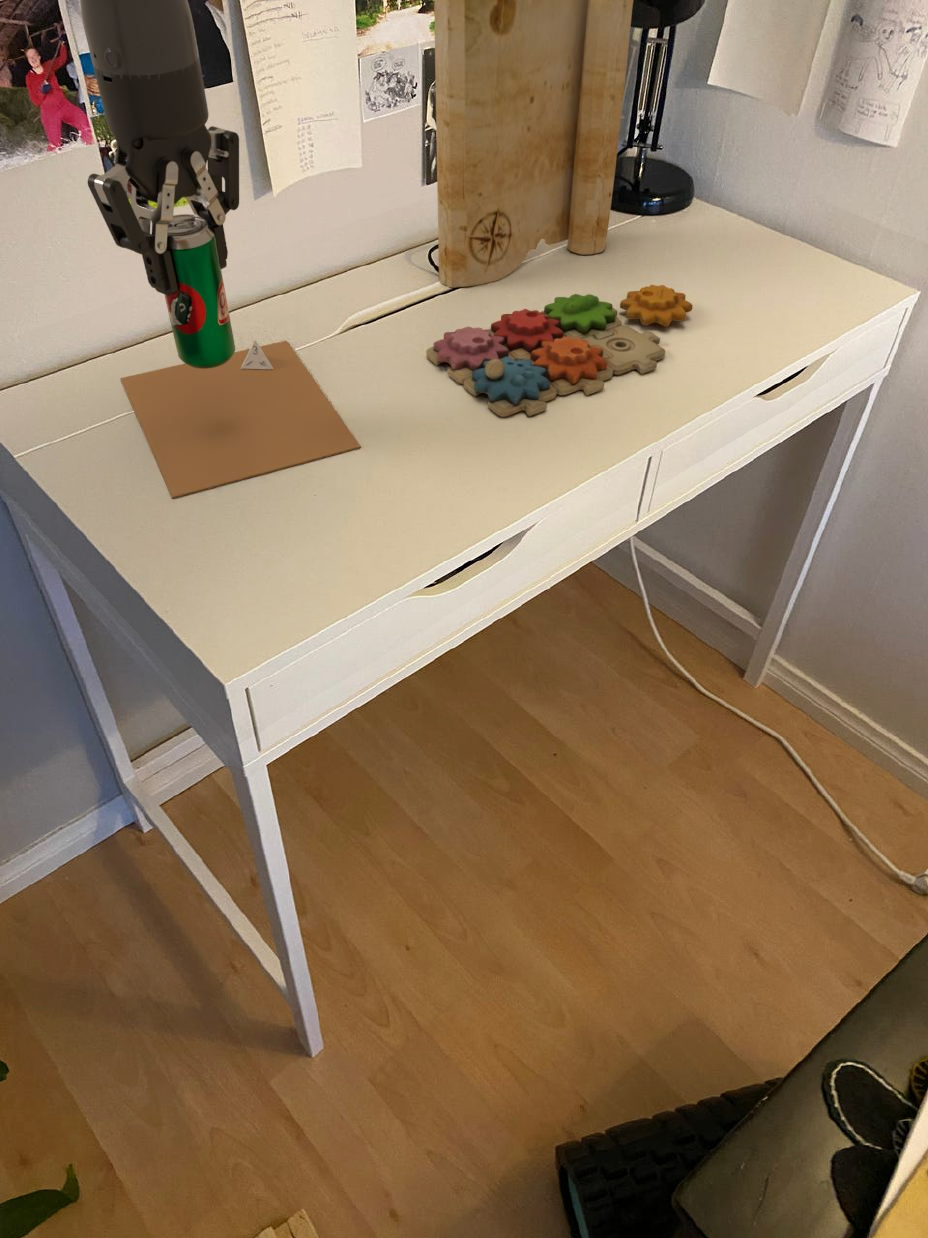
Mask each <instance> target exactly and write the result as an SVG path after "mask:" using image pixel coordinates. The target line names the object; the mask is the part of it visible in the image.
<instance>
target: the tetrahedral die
mask: <svg viewBox="0 0 928 1238" xmlns="http://www.w3.org/2000/svg"><path fill="white" fill-rule="evenodd" d="M260 346H261V345H259V343H258V341H257V340H256V339H254V340H253V341H252V344H251V346H250V348H249V349H250V350H249V352H248V354H247V356H246V358H245V360H244V363H243V365H242V367H241V369H260V370H273V367H272V365H271V364H270V362H269V361H268V359H267V357H266V356H265V354H264V353H263V351H262V349H261V348H260Z"/></svg>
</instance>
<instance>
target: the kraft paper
mask: <svg viewBox="0 0 928 1238" xmlns="http://www.w3.org/2000/svg"><path fill="white" fill-rule="evenodd" d="M259 346H260V348H261V349H262V351H263V353H264V354H265V356H266V357H267V359H268V361H269V362H270V364H271V365H272V367H273V370H260V369H241V367H242V365H243V363H244V360H245V358H246V356H247V354H248V352H249V350H250V348H248V349H247V348H246V349H242V350H239V351H238V350H237V351H235V352H234V354H233V356H232V357H231V358H230V360H229V361H228V362H226V363H225V364H223V365H221V366H218V367H214V368H207V369H200V368H194V367H191V366H189V365H187V364H186V363H180V364H176V365H173V366H172V365H171V366H168V367H164V368H159V369H155V370H151V371H146V372H141V373H136V374H133V375H127V376H124V377H120V382H121V384H122V386H123V389H124V391H125V394H126V396H127V398H128V400H129V403H130V405H131V407H132V409H133V412H134V414H135V416H136V418H137V421H138V423H139V426H140V427H141V430H142V432H143V434H144V437H145V439H146V442H147V443H148V446H149V449H150V451H151V453H152V455H153V459H154V460H155V463H156V464H157V467H158V469H159V472H160V473H161V476H162V479H163V481H164V483H165V485H166V487H167V490H168V492H169V494H170V496H171V497H170V498H171V499H173V500H174V499H176V498H182V497H184V496H188V495H192V494H195V493H199V492H203V491H207V490H210V489H214V488H218V487H221V486H225V485H229V484H232V483H236V482H240V481H243V480H247V479H251V478H256V477H259V476H262V475H266V474H269V473H270V474H271V473H273V472H277V471H280V470H285V469H289V468H291V467H295V466H299V465H303V464H306V463H310V462H313V461H317V460H322V459H325V458H329V457H332V456H336V455H340V454H343V453H347V452H351V451H355V450H358V449H359V450H360V449H361V448H362V447H361V444H360V443H359V442H358V441H357V439H356V437H355V436H354V434H353V433H352V431H351V430H350V429H349V427H348V426H347V424H346V423H345V422H344V419H342V417H341V416H340V414H339V413H338V412H337V410H336V409H335V407H334V405H332V403H331V401H330V400H329V399H328V397H327V396H326V395H325V392H324V391H323V390H322V389H321V387H320V385H318V383H317V382H316V380H315V379H314V378H313V376H312V375H311V373H310V371H309V370H308V369H307V367H306V366H305V364H304V363H303V361H302V360H301V359H300V357H299V356H298V354H297V352H295V351H294V349H293V347H292V346H291V344H290V343H289V342H288V340H282V341H278V342H274V343H269V344H266V345H265V344H264V345H259Z"/></svg>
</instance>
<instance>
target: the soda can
mask: <svg viewBox="0 0 928 1238" xmlns="http://www.w3.org/2000/svg"><path fill="white" fill-rule="evenodd" d="M166 250H169V251H170V254H171V259H172V263H173V268H174V272H175V277H176V282H177V286H178V292H177V293H176V294H174V295H172V296H168V295H165V294H163V295H164V299H165V304H166V308H167V312H168V317H169V321H170V325H171V330H172V334H173V339H174V343H175V347H176V352H177V356H178V358H179V359H180V360H181V361H182V362H183V364H185V363H186V364H187V365H189V366H191V367H194V368H200V369H207V368H214V367H218V366H221V365H223V364H225V363H226V362H228V361H229V360H230V358H231V357H232V356H233V354H234V352H236V345H235V339H234V334H233V328H232V323H231V316H230V311H229V306H228V305H229V304H228V300H227V294H226V288H225V284H224V279H223V273H222V269H221V266H220V261H219V255H218V250H217V244H216V239H215V234H214V232H213V231H212V230H211V229H210V228H209V226H208V222H207V220H206V219H205V218H203V217H201V216H197V215H195V214H187V213H186V214H185V213H184V214H173V220H172V222H171V223H169V224H168V234H167V248H166Z"/></svg>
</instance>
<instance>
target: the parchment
mask: <svg viewBox="0 0 928 1238" xmlns="http://www.w3.org/2000/svg"><path fill="white" fill-rule="evenodd" d="M433 3H434V4H433V5H434V63H435V64H434V68H435V71H434V72H435V74H434V75H435V114H436V115H435V123H436V124H435V125H436V126H435V127H436V129H435V130H436V181H437V182H436V184H437V189H436V190H437V237H438V241H437V243H438V277H439V280H440V284H442V285H445V286H447V287H449V288H451V289H452V288H463V287H470V286H471V287H472V286H478V285H484V284H487V283H491V282H495V281H498V280H501V279H503V278H504V277H507V276H508V275H510V274H512V273H513V272H514V271H516V269H517V268H518V267H519V266H521V264H522V263H523V262H524V261H525V259H526V256H527V255H528V254H529V252H530V251H534V250H536V249H537V247H538V245H539V243H540V242H541V241H542V240H544V243H545V244H546V245H548V246H551V245H555V244H559V243H562V242H565V241H567V247H566V249H567V250H569V251H570V252H571V253H574V254H577V255H593V254H594V255H595V254H598V253H603V252H604V250H605V249H606V247H607V239H608V232H609V231H608V230H609V224H610V223H609V222H610V217H611V216H610V215H611V208H612V200H613V192H614V183H615V175H616V166H617V158H618V149H619V139H620V131H621V121H622V113H623V103H624V95H625V85H626V77H627V67H628V59H629V58H628V57H629V47H630V36H631V27H632V26H631V25H632V15H633V6H634V0H434V2H433Z"/></svg>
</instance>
